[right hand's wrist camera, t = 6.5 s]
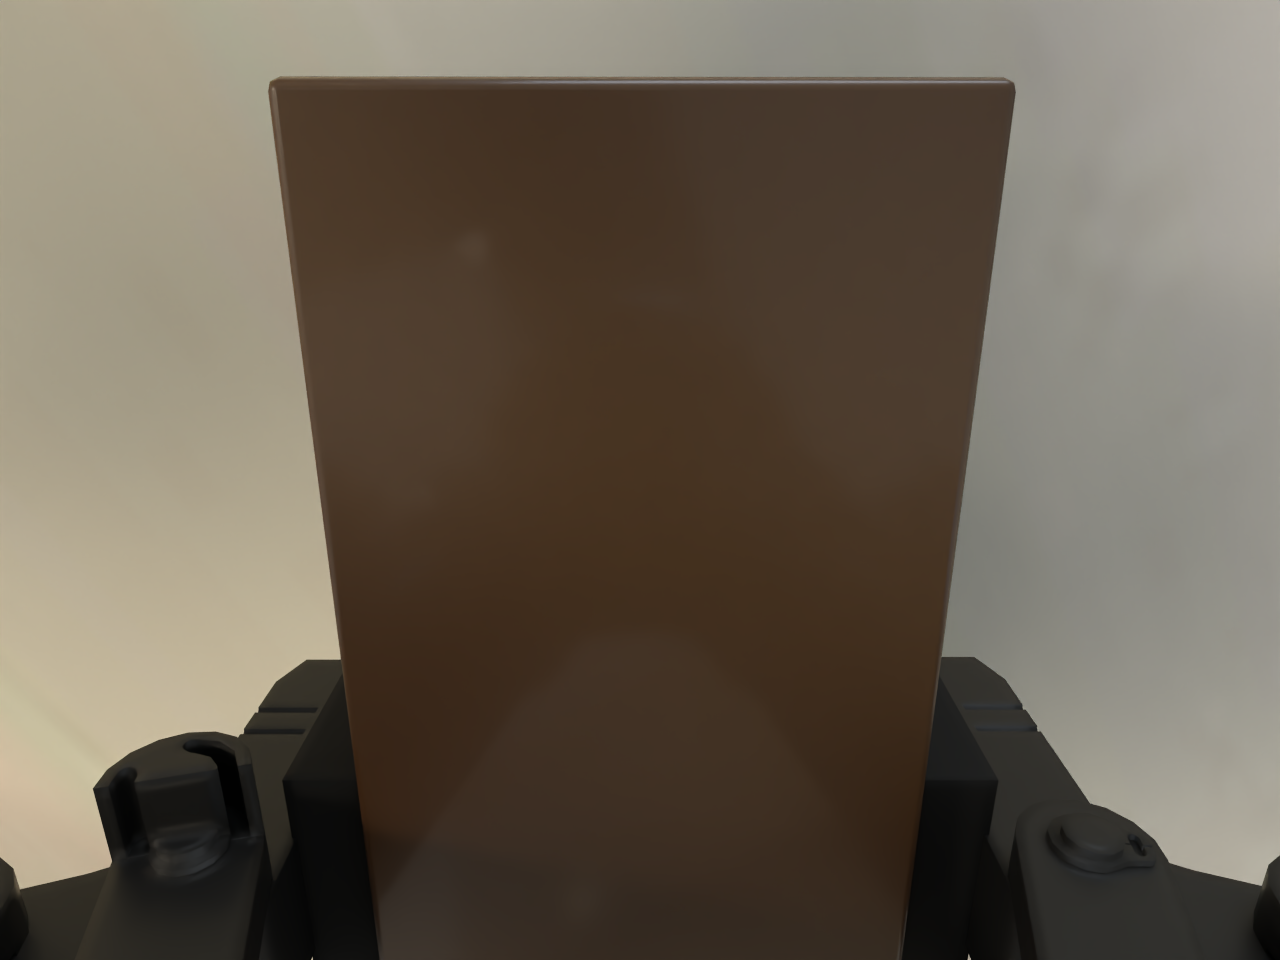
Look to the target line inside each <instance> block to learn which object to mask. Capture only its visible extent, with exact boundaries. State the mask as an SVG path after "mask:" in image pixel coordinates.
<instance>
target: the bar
mask: <svg viewBox="0 0 1280 960" xmlns="http://www.w3.org/2000/svg"><path fill="white" fill-rule="evenodd" d="M268 94H269V102H270V109H271V117H272V125H273V133H274V141H275V148H276V156H277V164H278V172H279V180H280V187H281V195H282V203H283V211H284V219H285V226H286V234H287V242H288V250H289V257H290V265H291V273H292V281H293V289H294V296H295V304H296V312H297V320H298V328H299V335H300V343H301V351H302V359H303V367H304V374H305V382H306V390H307V398H308V406H309V413H310V421H311V429H312V437H313V444H314V452H315V460H316V468H317V476H318V483H319V491H320V499H321V507H322V515H323V522H324V530H325V538H326V546H327V554H328V561H329V569H330V577H331V585H332V593H333V600H334V608H335V616H336V624H337V631H338V639H339V647H340V655H341V663H342V670H343V678H344V686H345V694H346V702H347V709H348V717H349V725H350V733H351V741H352V748H353V756H354V764H355V772H356V780H357V787H358V795H359V803H360V811H361V819H362V826H363V834H364V842H365V850H366V857H367V865H368V873H369V881H370V889H371V896H372V904H373V912H374V920H375V928H376V935H377V943H378V951H379V959H380V960H902V952H903V945H904V937H905V930H906V922H907V914H908V907H909V899H910V892H911V884H912V876H913V869H914V861H915V854H916V846H917V838H918V831H919V823H920V816H921V808H922V800H923V793H924V785H925V778H926V770H927V762H928V755H929V747H930V740H931V732H932V724H933V717H934V709H935V702H936V694H937V686H938V679H939V671H940V664H941V656H942V648H943V641H944V633H945V626H946V618H947V610H948V603H949V595H950V588H951V580H952V572H953V565H954V557H955V550H956V542H957V534H958V527H959V519H960V512H961V504H962V496H963V489H964V481H965V474H966V466H967V458H968V451H969V443H970V436H971V428H972V420H973V413H974V405H975V398H976V390H977V382H978V375H979V367H980V360H981V352H982V344H983V337H984V329H985V322H986V314H987V306H988V299H989V291H990V284H991V276H992V268H993V261H994V253H995V246H996V238H997V230H998V223H999V215H1000V208H1001V200H1002V192H1003V185H1004V177H1005V170H1006V162H1007V154H1008V147H1009V139H1010V132H1011V124H1012V116H1013V109H1014V101H1015V94H1016V92H1015V85H1014V82H1012V81H1010V80H1008V79H1006V78H1004V77H278V78H276V79H274V80H272V81H270V84H269V90H268Z"/></svg>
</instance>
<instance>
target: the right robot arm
mask: <svg viewBox="0 0 1280 960" xmlns="http://www.w3.org/2000/svg"><path fill="white" fill-rule="evenodd" d="M93 791H94V794H95V798H96V802H97V806H98V810H99V813H100V817H101V821H102V825H103V828H104V832H105V836H106V840H107V843H108V847H109V851H110V855H111V858H112V863H111V866H110V867H109V868H106V869H102V870H99V871H96V872H92V873H89V874H85V875H81V876H77V877H72V878H68V879H64V880H59V881H55V882H50V883H46V884H42V885H37V886H33V887H29V888H24V889H20V888H19V885H18V882H17V879H16V876H15V873H14V869H13V868H12V867H11V866H10V865H9V864H7V863H6V862H5V861H4V860H3V859H1V858H0V960H311V959H312V956H313V960H380V959H379V951H378V943H377V935H376V928H375V920H374V912H373V904H372V896H371V889H370V881H369V873H368V865H367V857H366V850H365V842H364V834H363V826H362V819H361V811H360V803H359V795H358V787H357V780H356V772H355V764H354V756H353V748H352V741H351V733H350V725H349V717H348V709H347V702H346V694H345V686H344V678H343V670H342V663H341V660H306V661H304V662H303V663H302V664H300V665H299V666H297V667H296V668H295V669H293V670H292V671H291V672H289V673H288V674H286V675H285V676H284V677H282V678H281V679H279V680H278V681H277V682H276V683H275V684H274V686H273V687H272V689H271V690H270V692H269V693H268V695H267V696H266V697H265V699H264V700H263V702H262V703H261V705H260V706H259V711H258V713H255V714H254V715H253V717H252V718H251V720H250V721H249V722H248V724H247V725H246V727H245V728H244V734H240V736H239V737H238V738H237V737H235V736H231V735H227V734H223V733H219V732H194V733H185V734H181V735H177V736H173V737H169V738H165V739H161V740H158V741H156V742H153V743H151V744H149V745H147V746H144V747H142V748H140V749H138V750H136V751H133V752H131V753H130V754H128V755H127V756H125V757H124V758H123V759H121V760H120V761H119V762H117V763H116V764H114V765H113V766H112V767H110V768H109V769H108V770H107V771H106V772H105V773H104V775H103V776H102V777H101V779H100V780H99V781H98V783H97V784H96V785H95V787H94V788H93ZM968 954H969V955H970V958H971V960H1280V856H1279V857H1277V858H1276V859H1275V860H1274V861H1273V862H1271V863H1270V864H1269V865H1268V869H1267V872H1266V875H1265V878H1264V881H1263V884H1262V886H1259V885H1255V884H1250V883H1246V882H1242V881H1237V880H1233V879H1229V878H1224V877H1220V876H1215V875H1211V874H1207V873H1202V872H1198V871H1194V870H1190V869H1187V868H1184V867H1180V866H1177V865H1174V864H1170V863H1169V862H1168V860H1167V858H1166V857H1165V855H1164V853H1163V852H1162V850H1161V849H1160V847H1159V846H1158V844H1157V843H1156V841H1155V840H1154V839H1153V838H1152V837H1150V836H1149V835H1148V834H1147V833H1146V832H1144V831H1143V830H1142V829H1141V828H1140V827H1138V826H1137V825H1136V824H1135V823H1134V822H1132V821H1130V820H1128V819H1126V818H1124V817H1122V816H1120V815H1118V814H1116V813H1114V812H1113V811H1111V810H1109V809H1107V808H1104V807H1100V806H1097V805H1093V804H1090V803H1089V801H1088V800H1087V798H1086V797H1085V796H1084V794H1083V793H1082V791H1081V790H1080V788H1079V787H1078V785H1077V784H1076V782H1075V781H1074V779H1073V778H1072V777H1071V775H1070V774H1069V772H1068V771H1067V769H1066V768H1065V766H1064V765H1063V763H1062V762H1061V760H1060V759H1059V758H1058V756H1057V755H1056V753H1055V752H1054V750H1053V749H1052V747H1051V746H1050V744H1049V743H1048V741H1047V740H1046V739H1045V737H1044V736H1043V734H1042V733H1041V731H1037V725H1036V724H1035V722H1034V721H1033V720H1032V718H1031V717H1030V715H1029V714H1028V712H1027V711H1026V710H1023V708H1022V703H1021V702H1020V701H1019V699H1018V698H1017V696H1016V695H1015V693H1014V692H1013V690H1012V689H1011V687H1010V686H1009V684H1008V683H1007V682H1006V680H1005V679H1004V678H1003V677H1001V676H1000V675H998V674H997V673H996V672H994V671H993V670H991V669H990V668H989V667H987V666H986V665H984V664H983V663H982V662H980V661H979V660H977V659H976V658H975V657H941V664H940V671H939V679H938V686H937V694H936V702H935V709H934V717H933V724H932V732H931V740H930V747H929V755H928V762H927V770H926V778H925V785H924V793H923V800H922V808H921V816H920V823H919V831H918V838H917V846H916V854H915V861H914V869H913V876H912V884H911V892H910V899H909V907H908V914H907V922H906V930H905V937H904V945H903V952H902V960H968Z"/></svg>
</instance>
